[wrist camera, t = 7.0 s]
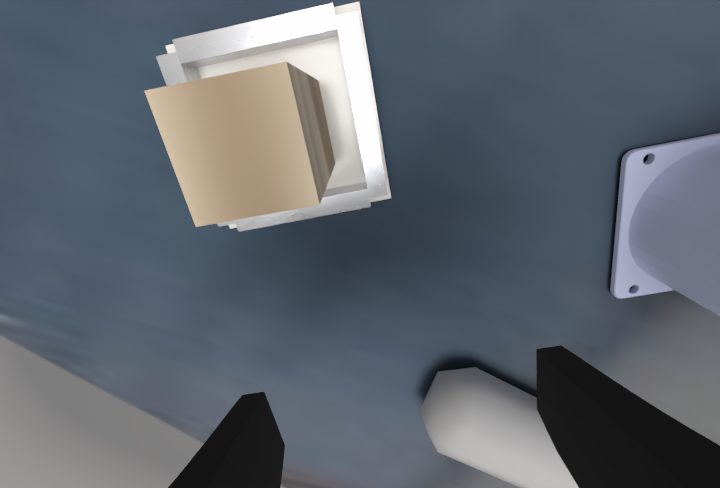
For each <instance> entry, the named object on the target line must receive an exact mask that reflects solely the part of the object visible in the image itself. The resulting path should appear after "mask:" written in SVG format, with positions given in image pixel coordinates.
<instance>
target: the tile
mask: <svg viewBox="0 0 720 488" xmlns="http://www.w3.org/2000/svg"><path fill="white" fill-rule="evenodd" d="M334 10H335V15H336V16H337V15H341V14H346V13H350V12H355V11H357V14H358V20H359V26H360V32H361V38H362V44H363V50H364V56H365V62H366V68H367V74H368V80H369V86H370V92H371V98H372V103H373V109H374V115H375V121H376V127H377V133H378V139H379V145H380V151H381V157H382V163H383V169H384V175H385V181H386V187H387V193H388V195H383V196H377V197H372V198H370V202H374V201H380V200H385V199H390V198H391V193H390V187H389V181H388V175H387V168H386V162H385V156H384V150H383V144H382V138H381V132H380V126H379V120H378V113H377V107H376V101H375V95H374V89H373V83H372V77H371V71H370V65H369V58H368V52H367V46H366V40H365V34H364V28H363V22H362V16H361V9H360V3H359V2H355V3H351V4H346V5H342V6H337V7H334ZM166 49H167V52H168V54H169V53H174V52H176V49H175V46H174V44H171V45H167V46H166ZM282 62H288V63H290V64H292V65H293V66H295V67H297V68H298V69H300V70H302V71H303V72H305V73H307V74H308V75H310V76H312V77H313V78H315V79H317V80H318V81H319V86H320V91H321V96H322V101H323V106H324V111H325V115H326V120H327V125H328V130H329V135H330V140H331V145H332V150H333V155H334V159H335V166H334V169H333V171H332V174H331V176H330V179H329V182H328V184H327V187H326V189H332V188H337V187H342V186H347V185H352V184H357V183H363V182H366V178H365V172H364V167H363V162H362V156H361V151H360V146H359V140H358V135H357V130H356V124H355V119H354V114H353V108H352V103H351V98H350V92H349V87H348V82H347V76H346V71H345V66H344V60H343V55H342V50H341V45H340V39H339V36H338V37H333V38H329V39H324V40H320V41H315V42H311V43H306V44H302V45H297V46H293V47H288V48H284V49H279V50H275V51H270V52H266V53H261V54H257V55H252V56H248V57H243V58H239V59H234V60H230V61H225V62H221V63H216V64H212V65H207V66H203V67H198V70H199V73H200V76H201V79H204V78H209V77H214V76H219V75H223V74H228V73H233V72H238V71H243V70H248V69H253V68H258V67H263V66H267V65H272V64H277V63H282ZM229 227H230V229H232V228H237V226H236V223H235V224H230V225H229Z"/></svg>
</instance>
